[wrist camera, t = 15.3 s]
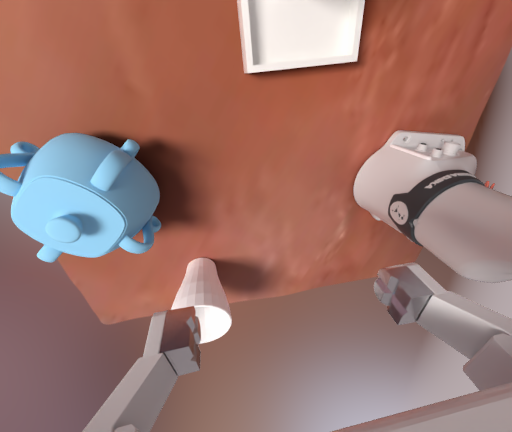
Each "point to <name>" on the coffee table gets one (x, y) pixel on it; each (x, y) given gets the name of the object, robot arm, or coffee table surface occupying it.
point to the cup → (205, 298)
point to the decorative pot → (81, 196)
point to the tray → (298, 33)
